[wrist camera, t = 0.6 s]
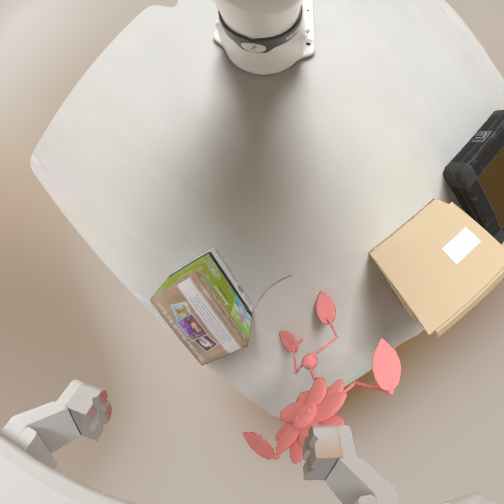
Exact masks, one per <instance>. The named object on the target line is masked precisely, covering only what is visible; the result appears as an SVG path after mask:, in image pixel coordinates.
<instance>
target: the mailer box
mask: <svg viewBox="0 0 504 504" xmlns="http://www.w3.org/2000/svg"><path fill="white" fill-rule="evenodd" d="M448 205H449V204H448V203H445V202H442V201H439V200H436V199H433V200H432V201H431V202H429V203H428V204H427V205H426V206H425V207H424V208H423V209H421V210H420V211H419V212H418V213H417V214H416V215H414V216H413V217H412V218H411V219H410V220H408V221H407V222H406V223H405V224H404V225H402V226H401V227H400V228H399V229H398V230H396V231H395V232H394V233H393V234H391V235H390V236H389V237H388V238H387V239H385V240H384V241H383V242H382V243H380V244H379V245H378V246H377V247H375V248H374V249H373V250H371V251H370V252H369V254H370V256H371V257H372V258H373V260H374V261H375V263H376V264H377V266H378V267H379V269H380V270H381V272H382V273H383V275H384V277H385V278H386V280H387V281H388V283H389V284H390V286H391V287H392V289H393V291H394V292H395V294H396V295H397V297H398V299H399V300H400V302H401V303H402V305H403V307H404V308H405V309H406V311H407V312H408V313H409V315H410V316H411V317H412V319H413V320H414V321H415V323H416V322H417V321H418V318H417V317H416V316H415V314H414V313H413V311H412V310H411V308H410V307H409V306H408V304H407V303H406V301H405V300H404V299H403V297H402V296H401V294H400V293H399V292H398V290H397V289H396V288H395V286H394V285H393V284H392V282H391V281H390V280H389V278H388V277H387V276H386V274H385V273H384V272H383V270H382V269H381V268H380V266H379V265H378V264H379V263H380V262H382V261H383V260H384V259H385V258H387V257H388V256H389V255H390V254H392V253H393V252H394V251H395V250H397V249H398V248H399V247H400V246H401V245H403V244H404V243H405V242H406V241H408V240H409V239H410V238H411V237H412V236H414V235H415V234H416V233H417V232H418V231H419V230H421V229H422V228H423V227H424V226H425V225H426V224H428V223H429V222H430V221H431V220H432V219H433V218H434V217H436V216H437V215H438V214H439V213H440V212H441V211H442V210H443V209H444V208H446V207H447V206H448Z"/></svg>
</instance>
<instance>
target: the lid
mask: <svg viewBox="0 0 504 504" xmlns="http://www.w3.org/2000/svg"><path fill="white" fill-rule="evenodd" d="M378 265H379V266H380V268H381V269H382V270H383V272H384V273H385V274H386V276H387V277H388V278H389V280H390V281H391V282H392V284H393V285H394V286H395V288H396V289H397V290H398V292H399V293H400V294H401V296H402V297H403V299H404V300H405V301H406V303H407V304H408V306H409V307H410V308H411V310H412V311H413V313H414V314H415V316H416V317H417V318H418V320H419V321H420V323H421V324H422V326H423V327H424V329H425V330H426V332H427V333H428V334H429V335H431V334H432V333H433V332H435V331H436V333H437V336H438V337H439V336H440V335H441V334H443V333H444V332H445V331H446V330H447V329H449V328H450V327H451V326H452V325H454V324H455V323H456V322H457V321H458V320H460V319H461V318H462V317H463V316H464V315H465V314H466V313H467V312H469V311H470V310H471V309H472V308H473V307H474V306H475V305H476V304H477V303H478V302H479V301H480V300H482V299H483V298H484V297H485V296H486V295H487V294H488V293H489V292H490V291H491V290H492V289H493V288H494V287H495V286H496V285H497V284H498V283H499V282H500V281H501V280H502V279H503V278H504V247H503V246H502V245H501V244H500V243H499V242H498V241H497V240H496V239H495V238H494V237H493V236H491V235H490V234H489V233H488V232H487V231H486V230H485V229H484V228H483V227H481V226H480V225H479V224H478V223H477V222H476V221H475V220H473V219H472V218H471V217H470V216H469V215H467V214H466V213H465V212H464V211H463V210H461V209H460V208H459V207H458V206H457V205H455V204H454V203H453V202H451V203H450V204H449V205H448V206H447V207H446V208H444V209H443V210H442V211H441V212H440V213H439V214H438V215H437V216H436V217H434V218H433V219H432V220H431V221H430V222H429V223H428V224H426V225H425V226H424V227H423V228H422V229H421V230H419V231H418V232H417V233H416V234H415V235H414V236H412V237H411V238H410V239H409V240H408V241H406V242H405V243H404V244H403V245H401V246H400V247H399V248H398V249H397V250H395V251H394V252H393V253H392V254H390V255H389V256H388V257H387V258H385V259H384V260H383V261H382V262H380V263H379V264H378Z"/></svg>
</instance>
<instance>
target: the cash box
mask: <svg viewBox="0 0 504 504" xmlns="http://www.w3.org/2000/svg"><path fill="white" fill-rule="evenodd" d="M443 173H444V176H445V179H446V181H447V182H448V184H449V185H450V187H451V189H452V190H453V192H454V194H455V195H456V197H457V199H458V201H459V202H460V204H461V206H462V208H463V209H464V211H465V213H466V214H467V215H469V216H470V217H471V218H472V219H473V220H475V221H476V222H477V223H478V224H479V225H480V226H481V227H483V228H484V229H485V230H486V231H487V232H488V233H489V234H490V235H491V236H493V237H494V238H495V239H496V240H497V241H498V242H499V243H500V244H502V243H503V241H504V110H498V111H494V112H493V114H492V115H491V116H490V117H489V118H488V120H487V121H486V122H485V123H484V124H483V126H482V127H481V128H480V129H479V130H478V131H477V133H476V134H475V135H474V136H473V137H472V138H471V139H470V141H469V142H468V143H467V144H466V145H465V146H464V147H463V148H462V150H461V151H460V152H459V153H458V154H457V155H456V156H455V157H454V158H453V159H452V161H451V162H450V163H449V164H448V165H447V166H446V167H445V169H444V172H443Z"/></svg>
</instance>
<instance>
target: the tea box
mask: <svg viewBox="0 0 504 504" xmlns="http://www.w3.org/2000/svg"><path fill="white" fill-rule="evenodd" d="M150 301H151V302H152V304H153V305H154V306H155V308H156V309H157V310H158V312H159V313H160V314H161V316H162V317H163V318H164V319H165V321H166V322H167V323H168V325H169V326H170V327H171V328H172V330H173V331H174V332H175V333H176V335H177V336H178V337H179V338H180V340H181V341H182V342H183V343H184V345H185V346H186V347H187V348H188V349H189V351H190V352H191V353H192V354H193V356H194V357H195V358H196V359H197V360H198V361H199V363H200V364H201V365H204V364H207V363H209V362H211V361H214V360H216V359H218V358H221V357H223V356H225V355H228V354H230V353H232V352H234V351H236V350H239V349H241V348H243V347H246V346H248V340H249V332H250V325H251V318H252V311H253V305H252V304H251V302H250V301H249V299H248V297H247V296H246V295H245V293H244V292H243V290H242V289H241V287H240V285H239V284H238V283H237V281H236V280H235V278H234V277H233V275H232V273H231V272H230V270H229V269H228V268H227V266H226V265H225V263H224V261H223V260H222V258H221V257H220V255H219V254H218V252H217V251H216V249H215V248H214V247H212V248H211V249H209V250H207V251H206V252H204V253H202V254H201V255H199V256H198V257H196V258H194V259H193V260H191V261H189V262H188V263H186V264H184V265H183V266H181V267H179V268H178V269H176V270H175V271H174V272H173V273H172V274H171V275H170V276H169V278H168V279H167V280H166V281H165V282H164V284H163V285H162V286H161V287H160V288H159V289H158V291H157V292H156V293H155V294H154V295H153V297H152V298H151V299H150Z"/></svg>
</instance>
